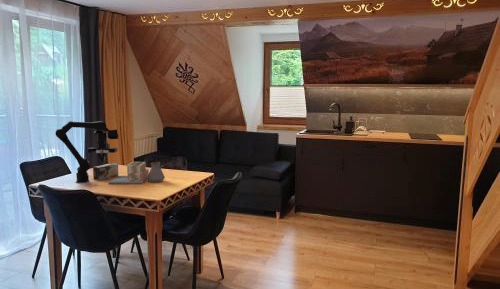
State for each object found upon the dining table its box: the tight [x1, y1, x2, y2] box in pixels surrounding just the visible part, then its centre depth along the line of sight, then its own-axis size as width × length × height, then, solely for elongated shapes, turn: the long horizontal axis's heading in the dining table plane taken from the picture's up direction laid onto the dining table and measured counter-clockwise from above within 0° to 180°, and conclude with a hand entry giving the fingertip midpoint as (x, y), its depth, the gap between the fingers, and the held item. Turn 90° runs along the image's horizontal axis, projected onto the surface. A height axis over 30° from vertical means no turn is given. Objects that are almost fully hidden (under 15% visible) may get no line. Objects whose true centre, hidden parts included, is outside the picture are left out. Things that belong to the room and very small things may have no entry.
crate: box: [126, 161, 147, 181], centre depth 254 cm, size 9×12×11 cm
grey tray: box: [108, 168, 150, 185], centre depth 254 cm, size 22×18×7 cm
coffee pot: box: [147, 161, 172, 184], centre depth 250 cm, size 21×12×15 cm, turn 54°
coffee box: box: [92, 163, 120, 181], centre depth 264 cm, size 9×6×16 cm
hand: (103, 162), depth 257 cm, fingers closed
